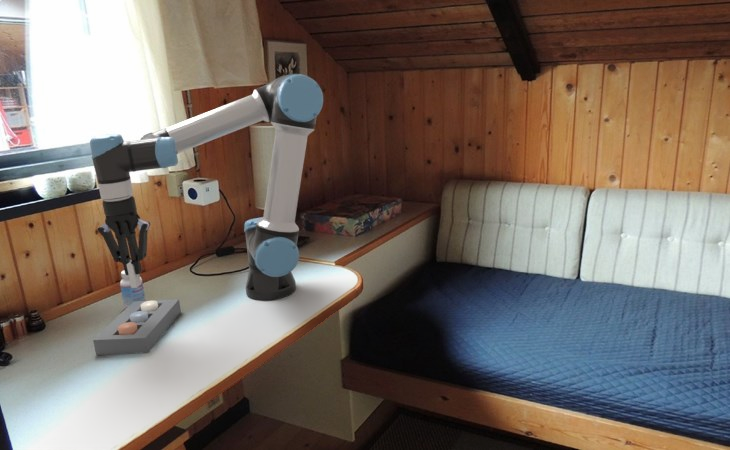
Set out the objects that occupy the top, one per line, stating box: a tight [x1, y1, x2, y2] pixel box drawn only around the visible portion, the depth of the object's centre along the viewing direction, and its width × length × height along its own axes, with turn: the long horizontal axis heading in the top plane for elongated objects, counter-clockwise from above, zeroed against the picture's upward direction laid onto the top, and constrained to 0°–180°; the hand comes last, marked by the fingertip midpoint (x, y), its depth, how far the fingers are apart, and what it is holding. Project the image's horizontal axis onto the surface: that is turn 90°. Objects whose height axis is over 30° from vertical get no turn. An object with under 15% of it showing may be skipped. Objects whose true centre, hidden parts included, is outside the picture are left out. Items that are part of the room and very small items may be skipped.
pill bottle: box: [119, 270, 147, 310], centre depth 168 cm, size 6×6×11 cm
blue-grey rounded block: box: [130, 311, 148, 323], centre depth 152 cm, size 4×4×4 cm
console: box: [92, 298, 182, 356], centre depth 152 cm, size 13×24×4 cm, turn 178°
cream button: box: [141, 300, 158, 311], centre depth 158 cm, size 4×4×4 cm
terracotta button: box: [118, 322, 138, 335], centre depth 145 cm, size 4×4×4 cm
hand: (136, 285), depth 149 cm, fingers closed
